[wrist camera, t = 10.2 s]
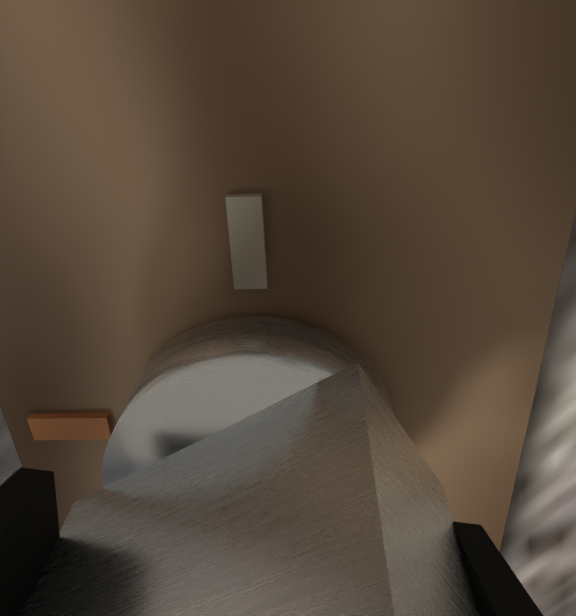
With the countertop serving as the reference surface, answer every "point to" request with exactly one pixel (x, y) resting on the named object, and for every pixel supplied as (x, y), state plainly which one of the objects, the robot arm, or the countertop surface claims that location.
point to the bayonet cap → (258, 491)
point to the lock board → (286, 208)
